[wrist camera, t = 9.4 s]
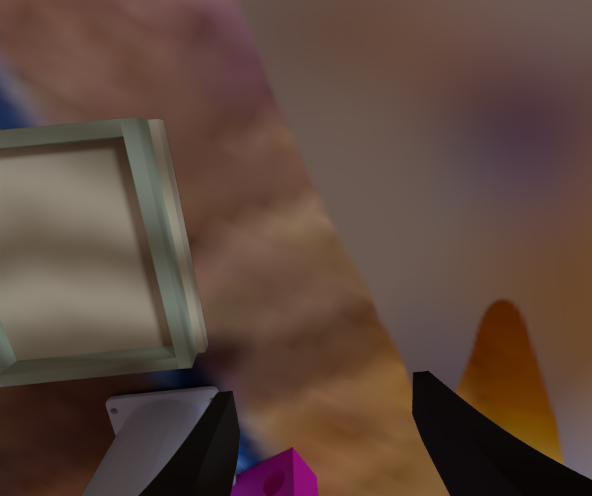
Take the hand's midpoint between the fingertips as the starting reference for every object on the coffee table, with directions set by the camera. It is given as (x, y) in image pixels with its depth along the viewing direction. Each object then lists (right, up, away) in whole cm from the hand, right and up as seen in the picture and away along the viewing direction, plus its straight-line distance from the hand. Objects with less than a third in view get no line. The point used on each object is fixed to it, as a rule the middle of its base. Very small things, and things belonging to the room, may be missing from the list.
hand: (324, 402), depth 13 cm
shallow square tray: (-15, +6, +8) cm, 17 cm away
